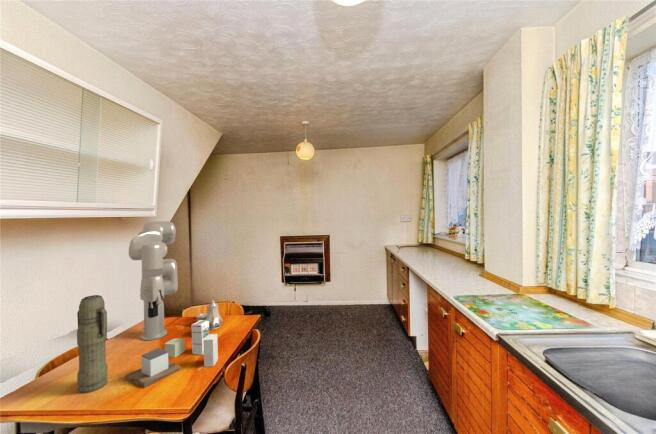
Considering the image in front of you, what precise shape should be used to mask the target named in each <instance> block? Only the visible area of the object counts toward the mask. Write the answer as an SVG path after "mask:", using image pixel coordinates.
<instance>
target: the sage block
mask: <svg viewBox="0 0 656 434" xmlns="http://www.w3.org/2000/svg"><path fill="white" fill-rule="evenodd" d="M185 342H186V340H185V339H184V338H176V337H175V338H173V339H171V340H168V341H167V342H165V343H164V350H165V351H168V358H169V357H170V358H176V357H178V356H180V355H181V354H183V353H184V352H185V351H186V349H185V347H186V346H185V345H186V344H185Z"/></svg>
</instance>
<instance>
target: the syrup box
mask: <svg viewBox="0 0 656 434" xmlns="http://www.w3.org/2000/svg"><path fill="white" fill-rule="evenodd" d="M191 326H192V328H191V348H192V349H191V350H192V351H191V352H192V355H197V356H199V355H200V356H201V355H203V356H204V339H205V338H206V337H207V335H208V334H210V330H209V321H207V320H199V321H198V320H197V321H196V322H194V323H191Z"/></svg>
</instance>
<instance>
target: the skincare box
mask: <svg viewBox="0 0 656 434" xmlns="http://www.w3.org/2000/svg"><path fill="white" fill-rule="evenodd" d="M218 352H219V346H218V334H217V333H209V334H208V335H207V337H206V338H205V339H204V354H203V363H204V365H203V366H204V368H210V367H211V368H212V367H215V365H216V364H217V361H218V360H219V353H218Z"/></svg>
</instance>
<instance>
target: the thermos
mask: <svg viewBox="0 0 656 434" xmlns="http://www.w3.org/2000/svg"><path fill="white" fill-rule="evenodd" d="M76 313H77V314H76V315H77V330H76V342H77V343H76V345H77V346H78V371H77V374H76V375H77V377H76V380H77V382H76V383H77V392H78V393H79V394H88V393H92V392H96V391H99V390H100V389H101V388H104V386H106V385H107V384H108V375H109V373H108V370H109V369H108V364H107V362H106V357H107V355H106V354H107V353H106V341H107V338H108V332H107V331H108V312H107V310H106V308H105V300H104V298H103V296H102V295H100V294H98V295H97V294H93V295H88V296H85V297H83V298H81V300H80V303H79V305H78V311H77V312H76Z"/></svg>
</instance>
